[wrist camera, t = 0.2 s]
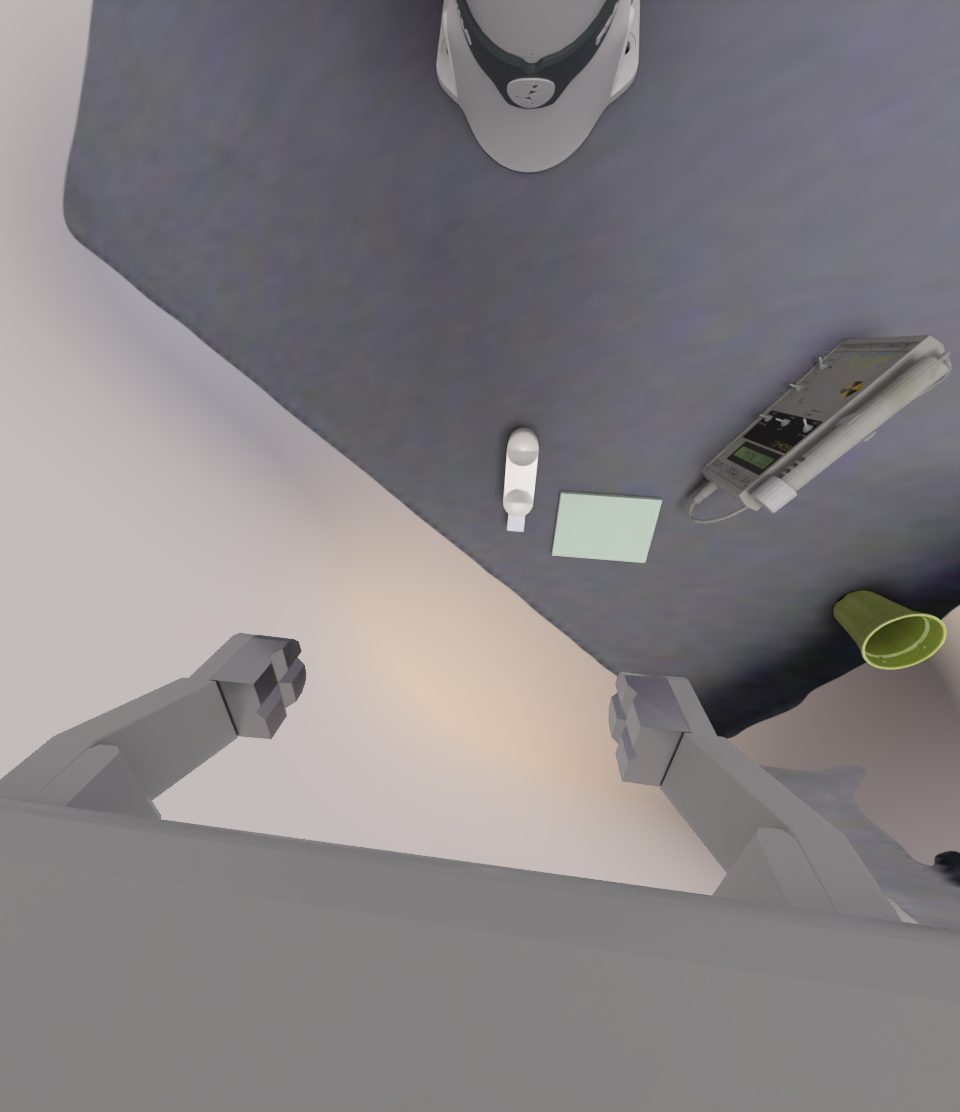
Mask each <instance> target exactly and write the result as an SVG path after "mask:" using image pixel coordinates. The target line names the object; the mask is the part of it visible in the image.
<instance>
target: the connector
mask: <svg viewBox="0 0 960 1112" xmlns="http://www.w3.org/2000/svg"><path fill="white" fill-rule="evenodd" d="M538 454H539V446H538V440H537V436H536V434H535V433H534V431H532V430H531V429H529V428H526V427H521V428H518V429H516V430H514V431H513V432H512V433H511V435H510V437H509V440H508V446H507V456H506V470H505V484H504V498H503V506H504V509H505V510H506V512H507V513H508V524H507V531H519V532H524V522H525V515H526V514H528V513H529V512H530V511H531V509H532V506H533V499H534V490H535V481H536V472H537V463H538Z"/></svg>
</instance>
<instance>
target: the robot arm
mask: <svg viewBox="0 0 960 1112" xmlns="http://www.w3.org/2000/svg"><path fill="white" fill-rule="evenodd" d="M639 26H640V0H444V4H443V12H442V20H441V28H440V37H439V45H438V53H437V61H436V70H437V77H438V81H439V83H440V85H441V87H442V88H443V90H444V91H445V92H446V93H447V94H448V95H449V96H450V97H451V98H452V99H453V100H454V101H455V102H456V103H457V104H458V105H459V106H460V107H461V109H462V110H463V112H464V114H465V116H466V118H467V120H468V123H469V125H470V127H471V129H472V132H473V134H474V135H475V137H476V139H477V141H478V142H479V144H480V145H481V146H482V148H483V149H484V150H485V151H486V153H487V154H488V155H489V156H490V157H492V158H493V159H494V160H495V161H496V162H498V163H499V164H501V165H503V166H505V167H507V168H509V169H512V170H515V171H519V172H538V171H542V170H546V169H549V168H551V167H553V166H555V165H557V164H559V163H560V162H562V161H564V160H565V159H566V158H568V157H569V156H570V155H571V154H572V153H573V152H574V151H575V150H576V149H577V148H578V147H579V146H580V145H581V144H582V143H583V142H584V140H585V139H586V138H587V136H588V135H589V133H590V132H591V130H592V129H593V127H594V125H595V124H596V122H597V120H598V119H599V117H600V115H601V114H602V112H603V111H604V110H605V108H606V107H607V106H608V105H609V104H611V103H612V102H613V101H614V100H616V99H617V98H618V97H619V96H620V95H621V94H623V93H624V92H625V91H626V90H627V89H628V88H629V87H630V85H631V84H632V82H633V81H634V79H635V76H636V73H637V68H638V63H639ZM626 46H627V48H628V50H629V52H628V53H627V54H625V50H626ZM447 53H448V54H447ZM624 54H625V55H624ZM300 653H301V648H300V645H299V642H298V641H296V640H294V639H287V638H279V637H271V636H263V635H251V634H243V633H239V634H236V635H233V636H232V637H231V638H230V639H229V640H228V641H227V642H226V643H225V644H224V645H223V646H222V647H221V648H220V649H218V650H217V652H215V653H214V655H212V656H211V657H210V658H209V659H208V660H207V661H206V662H205V663H204V664H203V665H202V666H201V667H200V668H199V669H198V670H197V671H196V672H194V674H192V675H191V676H190V677H189V678H181V679H178V680H176V681H174V682H172V683H170V684H168V685H165V686H163V687H161V688H159V689H156V690H154V691H152V692H150V693H148V694H145V695H143V696H141V697H139V698H137V699H135V700H132V701H130V702H128V703H126V704H124V705H122V706H119V707H117V708H115V709H113V710H111V711H108V712H106V713H104V714H102V715H99V716H97V717H96V718H93V719H91V720H89V721H86V722H84V723H82V724H80V725H77V726H75V727H73V728H71V729H69V730H67V731H64V732H63V733H60V734H58V735H56V736H54V737H52V738H51V739H50V740H49V741H47V742H46V743H45V744H44V745H42V746H41V747H40V748H39V749H38V750H36V751H35V752H34V753H33V754H31V755H30V756H29V757H28V758H26V759H25V760H24V761H23V762H22V763H20V764H19V765H18V766H17V767H15V768H14V769H13V770H12V771H10V772H9V773H8V774H7V775H5V776H4V777H3V778H2V779H0V1112H960V930H957V929H949V928H942V927H935V926H928V925H920V924H913V923H905V922H902V920H901V919H900V917H899V916H898V915H897V913H896V911H895V910H894V908H893V907H892V905H891V904H890V902H889V901H888V899H887V898H886V896H885V895H884V893H883V892H882V890H881V889H880V887H879V886H878V884H877V883H876V881H875V880H874V878H873V877H872V875H871V874H870V872H869V871H868V869H867V868H866V866H865V865H864V863H863V862H862V860H861V859H860V857H859V856H858V854H857V853H856V851H855V850H854V848H853V847H852V845H851V844H850V842H849V841H848V839H847V838H846V836H845V835H844V834H842V833H841V832H840V831H839V830H837V829H836V828H835V827H834V826H832V825H831V824H830V823H829V822H828V821H826V820H825V819H824V818H823V817H821V816H820V815H819V814H818V813H817V812H815V811H814V810H813V809H812V808H810V807H809V806H808V805H807V804H805V803H804V802H803V801H802V800H801V799H799V798H798V797H797V796H796V795H794V794H793V793H792V792H791V791H790V790H788V789H787V788H786V787H785V786H783V785H782V784H781V783H780V782H778V781H777V780H776V779H775V778H774V777H772V776H771V775H770V774H769V773H767V772H766V771H765V770H764V769H763V768H761V767H760V766H759V765H758V764H756V763H755V762H754V761H753V760H751V759H750V758H749V757H748V756H747V755H745V754H744V753H743V752H742V751H740V750H739V749H738V748H737V747H736V746H734V745H733V744H732V743H731V742H729V741H728V740H727V739H726V738H724V737H717V735H716V733H715V731H714V729H713V727H712V725H711V723H710V721H709V719H708V717H707V715H706V714H705V712H704V710H703V708H702V706H701V704H700V702H699V700H698V698H697V696H696V694H695V692H694V690H693V688H692V686H691V684H690V683H689V681H688V680H687V679H686V678H682V677H671V676H657V675H646V674H635V673H625V672H620V673H619V675H618V676H617V680H616V688H617V692H618V693H616V694H615V695H614V696H612V698H611V702H610V706H609V725H610V731H611V736H612V738H613V739H614V740H615V741H616V742H617V743H618V744H619V745H618V748H617V751H616V757H617V761H618V766H619V770H620V774H621V778H622V781H625V782H632V783H638V784H645V785H652V786H659V787H661V788H660V789H661V790H662V791H663V793H664V794H665V795H666V796H667V798H668V799H669V800H670V802H671V803H672V804H673V805H674V807H675V808H676V809H677V810H678V812H679V813H680V814H681V816H682V817H683V818H684V819H685V821H686V822H687V823H688V824H689V826H690V827H691V828H692V829H693V831H694V832H695V833H696V835H697V836H698V837H699V838H700V840H701V841H702V842H703V843H704V845H705V846H706V847H707V848H708V850H709V851H710V852H711V853H712V855H713V856H714V857H715V858H716V860H717V861H718V862H719V864H720V865H721V866H722V867H723V869H724V870H725V871H726V872H727V874H726V876H725V877H724V879H723V880H722V882H721V883H720V885H719V886H718V888H717V889H716V891H715V892H714V894H713V895H712V896H710V895H703V894H696V893H688V892H681V891H674V890H667V889H660V888H652V887H645V886H638V885H630V884H623V883H616V882H609V881H602V880H594V879H587V878H580V877H573V876H565V875H558V874H551V873H544V872H537V871H530V870H522V869H515V868H508V867H500V866H494V865H486V864H479V863H472V862H464V861H458V860H451V859H443V858H436V857H429V856H422V855H414V854H407V853H399V852H393V851H385V850H378V849H371V848H364V847H356V846H349V845H341V844H334V843H326V842H320V841H312V840H305V839H298V838H290V837H284V836H276V835H268V834H262V833H254V832H247V831H240V830H233V829H226V828H218V827H210V826H203V825H196V824H190V823H182V822H175V821H168V820H161V815H160V813H159V811H158V810H157V808H156V807H155V805H154V804H153V802H152V800H153V799H154V798H156V797H157V796H159V794H161V793H163V792H164V791H165V790H167V789H168V788H169V787H171V786H172V785H174V784H175V783H176V782H178V781H179V780H180V779H182V778H183V777H184V776H186V775H187V774H189V773H190V772H191V771H192V770H194V769H195V768H197V767H198V766H200V765H201V764H202V763H204V762H205V761H206V760H208V759H209V758H211V757H212V756H213V755H215V754H216V753H217V752H218V751H220V750H221V749H223V748H224V747H226V746H227V745H228V744H230V743H231V742H232V741H234V740H235V739H236V738H237V736H244V737H255V738H267V739H272V737H273V736H274V734H275V733H276V731H277V730H278V728H279V727H280V725H281V724H282V722H283V721H284V719H285V718H286V716H287V715H286V707H288V706H289V705H291V704H293V703H294V702H296V701H297V699H298V698H299V696H300V694H301V693H302V691H303V687H304V684H305V681H306V670H305V665H304V664H303V663H302V662H301V661H300V660H299V659H298V658H297V657H298V656H299V654H300Z"/></svg>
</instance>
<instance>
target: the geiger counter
mask: <svg viewBox="0 0 960 1112" xmlns="http://www.w3.org/2000/svg"><path fill="white" fill-rule="evenodd" d="M949 355H950V352H945V350H944V347H943V344H942V343H941V342H939V341H938V340H936V339H935V338H933V337H932V336H930V335H921V336H901V337H880V338H860V339H844V340H842V341H841V342H840V343H839V344H838V345H837V346H836V347H834V348H833V349H832V350H831V351H830V352H829V353H828V354H827V355H826V356H825V357H823V358H822V359H821V357H819V362H818V363H817V364H816V365H815V366H814V367H813V368H811V369H810V370H809V371H808V372H807V373H806V374H805V375H804V376H803V377H802V378H800V379H799V380H798V381H797V382H796V383H795V384H794V385H793V384H789V386H792V387H791V388H790V389H788V390H787V391H786V392H785V393H784V394H783V395H782V396H781V397H780V398H779V399H777V400H776V401H775V402H774V403H773V404H772V405H771V406H770V407H769V408H768V409H767V410H765V411H764V412H763V413H762V414H759V417H758V418H757V419H756V420H754V421H753V422H752V423H751V424H750V425H749V426H748V427H747V428H746V429H745V430H744V431H742V432H741V433H740V434H739V435H738V436H737V437H736V438H735V439H734V440H733V441H731V442H730V443H729V444H728V445H727V446H726V447H725V448H724V449H723V450H722V451H721V452H719V453H718V454H717V455H716V456H715V457H714V458H713V459H712V460H711V461H710V462H708V463H707V464H706V465H705V466H704V467H703V468H702V469H701V472H702V473H703V475H704V476H705V478H706V479H707V480H709V481H710V482H709V483H708V484H707V485H706V486H704V487H703V488H702V489H701V490H700V491H699V492H698V494H697V495H696V496H695V497H694V498H692V499H693V500H694V501H693V502H692V503H691V505H690V507H689V509H688V517H689V519H690V520H692V521H693V522H696V523H712V522H717V521H721V520H724V519H727V518H730V517H732V516H734V515H736V514H738V513H740V512H742V511H744V510H745V509H747V508H748V507H749V508H751V509H752V510H754V511H757V510H758V509H760V508H761V507H762V506H763V507H764V508H765V509H766V510H768V511H769V512H771V513H775V512H776V511H777V510H779V509H780V508H781V507H782V506H784V505H785V504H786V503H788V502H789V501H790V500H791V499H793V498H794V497H795V496H797V493H796V491H797V490H799V489H800V488H801V487H803V486H804V485H805V484H806V483H808V482H809V481H810V480H811V479H813V478H814V477H815V476H816V475H818V474H819V473H820V472H822V471H823V470H824V469H825V468H827V467H828V466H829V465H830V464H832V463H833V462H834V461H836V460H837V459H838V458H839V457H841V456H842V455H843V454H844V453H846V452H847V451H848V450H850V449H851V448H852V447H853V446H855V445H856V444H857V443H858V442H860V441H866V440H868V439H869V438H871V437H872V436H873V435H874V434H875V431H874V430H875V429H876V428H878V427H879V426H880V425H881V424H883V423H884V422H885V421H886V420H888V419H889V418H890V417H892V416H893V415H894V414H895V413H897V412H898V411H899V410H900V409H902V408H903V407H904V406H906V405H907V404H908V403H910V402H911V401H913V400H914V399H916V398H918V397H919V396H921V395H922V394H924V393H926V392H927V391H929V390H930V389H932V388H933V387H935V386H936V385H938V384H939V383H941V382H942V381H943V380H944V379H945V378H947V377H948V375H949V373H950V372H951V368H952V363H951V361H950V359H949ZM717 488H720V489H722V490H723V491H725V492H726V493H728V494H729V495H731V496H732V497H733V498H735V499H736V500H738V501H739V502H741V503H742V504H744V505H745V506H743V507H742V508H740V509H738V510H736V511H734V512H732V513H730V514H728V515H725V516H722V517H719V518H715V519H709V520H698V519H695V518H693V517H692V515H691V513H692V509H693V507H694V505H695V504H696V503H697V504H699V503H700V502H701V501H702V500H703V499H704V498H705V499H706V498H707V497H708V496H709V495H710V494H712V493H713V492H714V491H715V490H716V489H717Z"/></svg>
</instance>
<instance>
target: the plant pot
mask: <svg viewBox="0 0 960 1112" xmlns="http://www.w3.org/2000/svg"><path fill="white" fill-rule="evenodd" d="M833 615H834V617H835V618H836V620H837V621H838V622H839V623H840V624H841V625H842V627H843V628H844V629H845V630H846V631H847V632H848V634H849V635H850V636H851V637H852V638H853V640H854V641H855V642H856V643H857V644H858V647H859V649H860V650H861V654H862V656H863V658H864V660H865V661H866V662H867V663H869V664H870V665H872V666H874V667H877V668H880V669H900V668H905V667H909V666H912V665H915V664H917V663H920V662H922V661H924V660H926V659H927V658H929V657H930V656H932V655H933V654H934V653H935V652H936V651H937V650H938V649H939V648H940V647H941V646H942V644H943V643H944V641H945V639H946V635H947V631H946V626H945V625H944V623H943V622H942V621H941V620H940V619H938V618H937V617H935V616H932V615H929V614H924V613H919V612H916V611H912V610H909V609H907V608H905V607H903V606H901V605H899V604H897V603H894V602H892V601H890V600H888V599H886V598H884V597H882V596H880V595H878V594H876V593H874V592H871V591H866V590H861V591H855V592H852V593H849V594H847V595H846V596H845V597H844V598H843V599H842V600H841V601H839V602H837V603H836V604H835V606H834V609H833Z"/></svg>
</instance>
